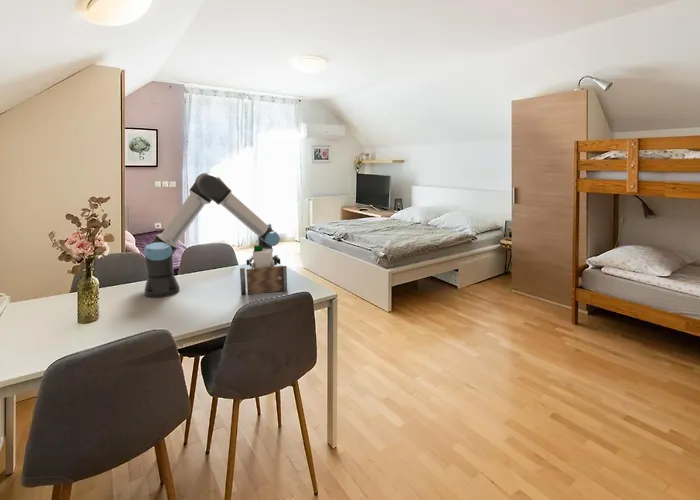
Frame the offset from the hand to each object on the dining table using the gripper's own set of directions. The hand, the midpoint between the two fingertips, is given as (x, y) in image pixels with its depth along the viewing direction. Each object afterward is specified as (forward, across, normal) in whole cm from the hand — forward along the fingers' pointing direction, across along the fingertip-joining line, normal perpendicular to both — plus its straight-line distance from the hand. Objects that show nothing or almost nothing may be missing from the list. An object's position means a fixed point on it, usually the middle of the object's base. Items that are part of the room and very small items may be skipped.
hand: (262, 265), depth 193 cm
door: (+4, -2, -12) cm, 13 cm away
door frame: (+4, 0, -12) cm, 13 cm away
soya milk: (-5, 0, -12) cm, 12 cm away
